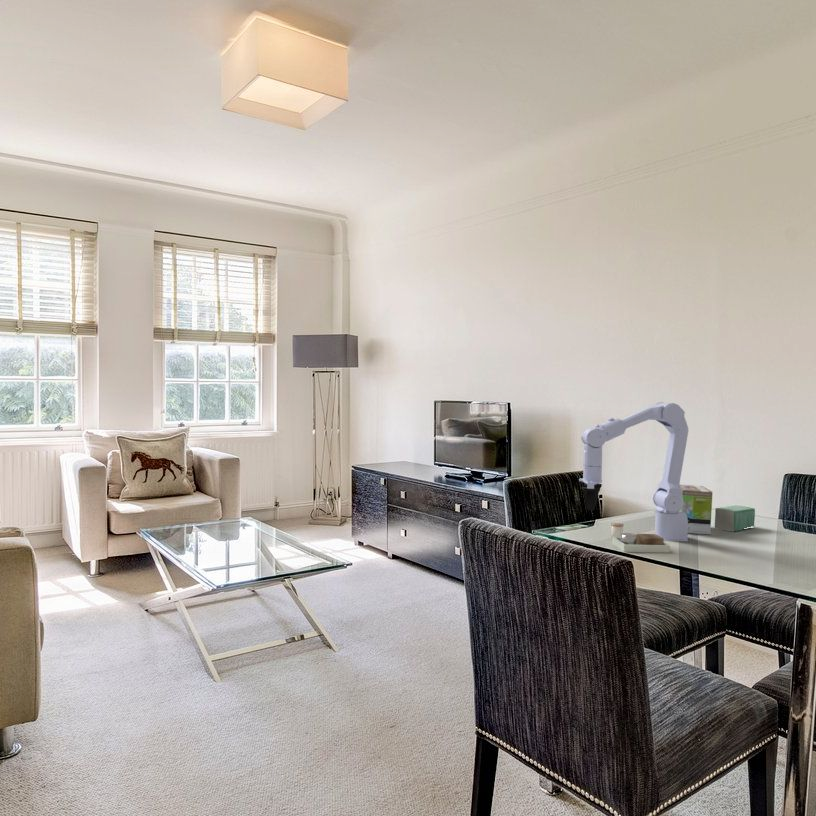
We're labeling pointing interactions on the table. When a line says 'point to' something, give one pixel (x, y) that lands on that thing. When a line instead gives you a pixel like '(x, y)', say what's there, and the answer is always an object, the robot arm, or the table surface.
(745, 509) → the box
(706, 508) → the tea box
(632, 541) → the tin
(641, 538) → the block
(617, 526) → the jar
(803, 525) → the table surface
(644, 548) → the white tray
